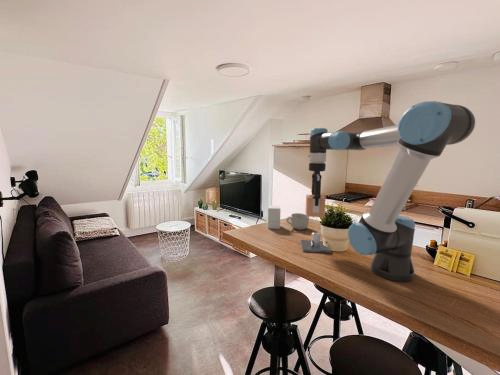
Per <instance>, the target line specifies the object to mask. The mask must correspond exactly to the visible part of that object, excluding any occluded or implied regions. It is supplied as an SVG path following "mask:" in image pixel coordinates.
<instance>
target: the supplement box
mask: <svg viewBox="0 0 500 375" xmlns="http://www.w3.org/2000/svg"><path fill="white" fill-rule="evenodd" d="M267 229H272V230H276V229H277V230H280V229H281V206H280V205H268V207H267Z"/></svg>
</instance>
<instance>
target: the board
mask: <svg viewBox="0 0 500 375" xmlns="http://www.w3.org/2000/svg"><path fill="white" fill-rule="evenodd" d="M321 235H322V234H321V232H313V231H312V232H311V240H308V239H301V240H300V244H301V245H300V246H301V250H302V252H303V253H305V252H306V253H318V254H319V253H322V254H332V250H331V247H330V246H329V247H330V248H329V247H326V246H324V245H323V240H321Z"/></svg>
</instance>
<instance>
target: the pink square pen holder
mask: <svg viewBox="0 0 500 375" xmlns="http://www.w3.org/2000/svg"><path fill="white" fill-rule="evenodd" d="M305 196H306V197H305V213H304V214H305V215H306V216H308V217H309V218H310V217H311V218H313V217H314V218H325V211H326V197H325V196H324V194H321V198H320V204H319V213H314V212H313V199H312V197H314V195H312V194H305Z"/></svg>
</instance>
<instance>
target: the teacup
mask: <svg viewBox="0 0 500 375" xmlns="http://www.w3.org/2000/svg"><path fill="white" fill-rule="evenodd" d="M289 219H290V221H289ZM309 220H310V217H308V216H306V213H300V212H298V213H297V212H295V213H291V215H290V216H286V221H285V222H287V223H288V225H290V226H291V227H293V228H294V229H295V230H300V231H302V230H305V229H306V228H308V226H309Z"/></svg>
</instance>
